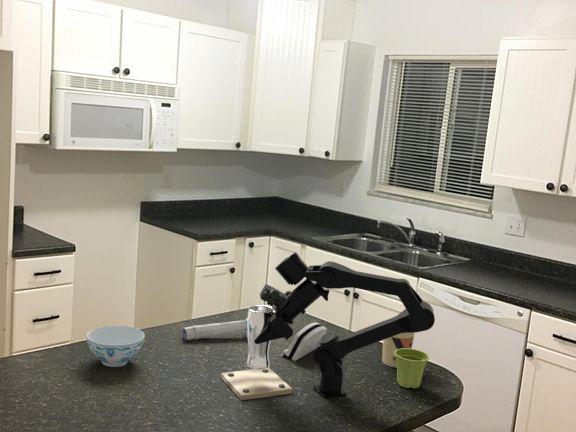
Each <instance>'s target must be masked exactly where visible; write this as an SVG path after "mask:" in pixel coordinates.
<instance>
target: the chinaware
mask: <svg viewBox="0 0 576 432" xmlns="http://www.w3.org/2000/svg"><path fill="white" fill-rule="evenodd" d="M145 338H146V337H145V332H144V331H142V330H141V329H139V328H136V327H133V326H128V325H105V326H104V325H103V326H99V327H96V328H93V329H91V330H90V331H88V332H87V333H86V341H87V344H88V345H87V346H89V349H90V351H91V353H92V354H93V355H94V356H95V357H96V358H97V360H100V361H101V364H102V365H103V366H106V367H108V368H109V367H110V368H120V367H124V366H125V365H127V364H128V361H129V360H131V359H133V358H134V357H135V356H136V355H137V354H138V352H139V351H140V350H141V347H142V346H143V343H144V341H145Z"/></svg>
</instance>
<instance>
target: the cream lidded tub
mask: <svg viewBox="0 0 576 432" xmlns="http://www.w3.org/2000/svg"><path fill="white" fill-rule="evenodd" d="M414 339H415V333H400V334H398V335H395V336H392V337H390V338H387V339H384V340H382V355H381V356H382V358H381V359H382V360H381V361H382V363H383V364H384V365H386V366H388V367H391V368H396V369H397V360H396V355H395V351H396V350H397V349H402V348H409V349H413V343H414Z"/></svg>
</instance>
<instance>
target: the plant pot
mask: <svg viewBox="0 0 576 432" xmlns="http://www.w3.org/2000/svg"><path fill="white" fill-rule="evenodd" d="M395 355H396V360H397V368H396V376H397V377H396V382H397V384H398V386H400V387H402V388H406V389H410V388H412V389H418V388H419V387H420V386H421V383H422V380H423V375H424V371H425V368H426V365H427V364H428V361H429V360H430V355H429V354H428V353H426V352H425V351H422V350H419V349H414V348H412V349H409V348H402V349H397V350H396V351H395Z"/></svg>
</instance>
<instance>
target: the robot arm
mask: <svg viewBox="0 0 576 432" xmlns="http://www.w3.org/2000/svg"><path fill="white" fill-rule="evenodd" d="M274 269H275V270H276V272H277V273H278V274H279V275H280V276H281V277H282V279H283V280H284V281H285V282H286V283H287V285H289V286H290V285H291V286H293V285H294V286H296V287H295V288H294V289H293V290H291V291H290V290H287V291H285V292H282V291H280V290H279V289H278V288H277V289H276V288H275V287H273V286H271V285H269V284H268V283H265V284H264V286H263V288H262V289H261V292H260V293H259V296H260V297H259V298H260V300H262V301H263V302H266V304H265V306H270V307H272V308H274V314H273V315H272V316H271V318H269V317H268V322H267V326H266V327H265V328H264V330H263V331H262V332H261V333H260V334H259V335H258V337H257V338H256V339H255V340H254V342H255V343H256V344H260V343H263V342H267V341H270V340H272V341H274V340H277V339H285V340H286V341H288V340H289V339H290V338H291V337H292V336H293V335H294V329H293V324H294V320H295V319H296V318H297V317H299V315H300V314H302V315H304V314H306V312H307V311H306V310H307V309H308V308H309V307H310V306H311V305H313V304H314V303H315V301H317V300H318V299H319V298H321V297H322V298H323V299H324V301H326V302H328V301H329V295H330V289H333V290H334V289H336V290H337V289H341V290H342V289H348V288H349V289H357V290H358V289H359V290H364V291H369V292H375V293H380V294H384V295H389V296H395V297H398V298H399V300H400V301H401V303H402V305H403V306H404V309H403V310H402V311H401V312H399V313H398V314H397V315H395V316H393V317H390V318H388V319H385V320H382V321H380V322H378V323H375V324H371V325H369V326H367V327H364V328H361V329H359V330H356V331H353V332H351V333H348V334H345V335H344V334H343V335H341V334H340V335H339V334H338V331H337V330H335V331H332V332H331V333H329V334H325V335H323V336H322V339H320V340H319V341H318V343H317V345H316V348H315V349H314V350H313V355H312V356H313V360H314V362H315V363H316V364H317V365H318V367H319V375H318V384H317V385H313V387H312V388H313V389H314V390H315V391H316V392H317V393H318V394H320V395H321V396H322V397H323V398H325V399H327V398H334V397H341V396H346V395H347V392H346V391H344V390H343V381H344V380H343V379H344V372H343V371H344V370H343V369H344V364H345V360H346V356H347V355H349V354H350V353H352V352H355V351H357V350H359V349H360V350H361V349H363V348H365V347H368V346H371V345H374V344H377V343H379V342H383V340H384V339H387V338H390V337H392V336H395V335H398V334H400V333H414V334H416V333H421V332H425V331H429V330H431V329H432V328H433V326H434V324H435V320H436V318H435V314H434V312H435V311H434V308H433V306H432V305H431V304H429V303H428V302H427V301H425V300H423V299H422V298H421V296H420V295H419V294H418V293H417V291H416V290H415V289H414V288H413V286H412V285H411V283H410V281H409V280H407V279H405V278H396V277H390V276H386V275H385V276H384V275H378V274H373V273H368V272H363V271H359V270H358V271H357V270H355V269H351V268H349V267H347V265H346V266H345V265H344V264H340V263H338V262H335V261H326V262H324V263H322V264H316V265H309V266H308V265H307V264H306V263H305V261H303V259H302V258H301V257H300V255H299V254H298V253H297V252H296V251H294V252H293V253H292V254H290V255H289V256H287V257H286V258H284V259H283V260H282V261H281V262H279V264H277V266H275V268H274ZM303 279H304V280H303ZM302 280H303V281H302ZM301 281H302V282H301ZM300 282H301V283H300ZM298 284H299V285H298Z"/></svg>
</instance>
